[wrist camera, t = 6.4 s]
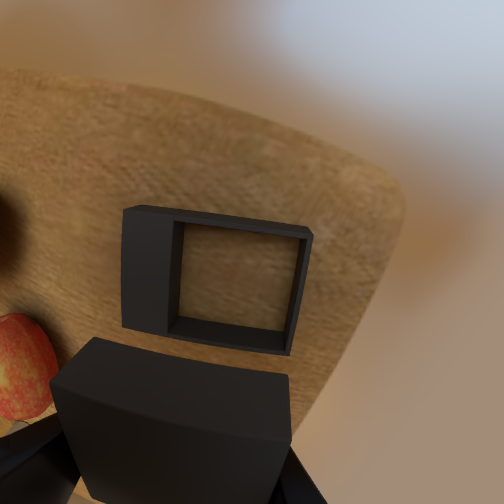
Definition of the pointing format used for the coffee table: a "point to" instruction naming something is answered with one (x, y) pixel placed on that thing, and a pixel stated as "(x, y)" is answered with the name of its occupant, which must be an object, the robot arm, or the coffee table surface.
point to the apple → (24, 368)
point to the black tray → (169, 270)
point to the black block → (172, 426)
